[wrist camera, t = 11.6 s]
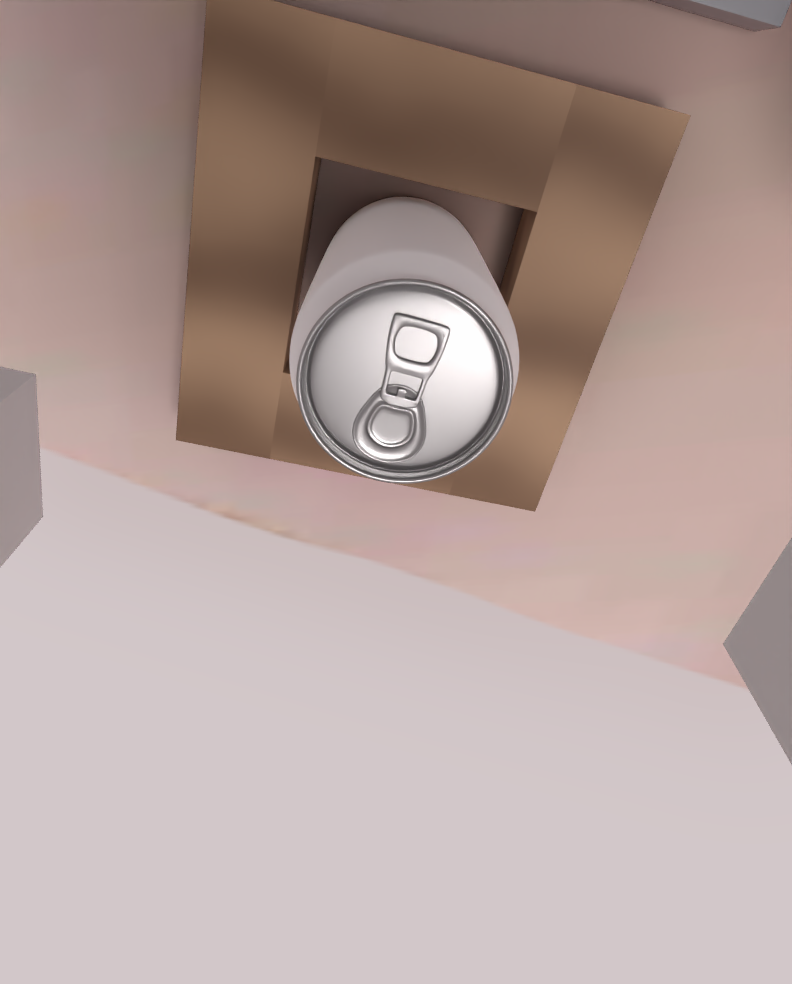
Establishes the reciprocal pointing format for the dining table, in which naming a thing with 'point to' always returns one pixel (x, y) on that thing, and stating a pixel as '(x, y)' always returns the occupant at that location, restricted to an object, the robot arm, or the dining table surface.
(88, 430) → the dining table surface
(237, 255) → the frame
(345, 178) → the dining table surface
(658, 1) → the tray
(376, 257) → the can
